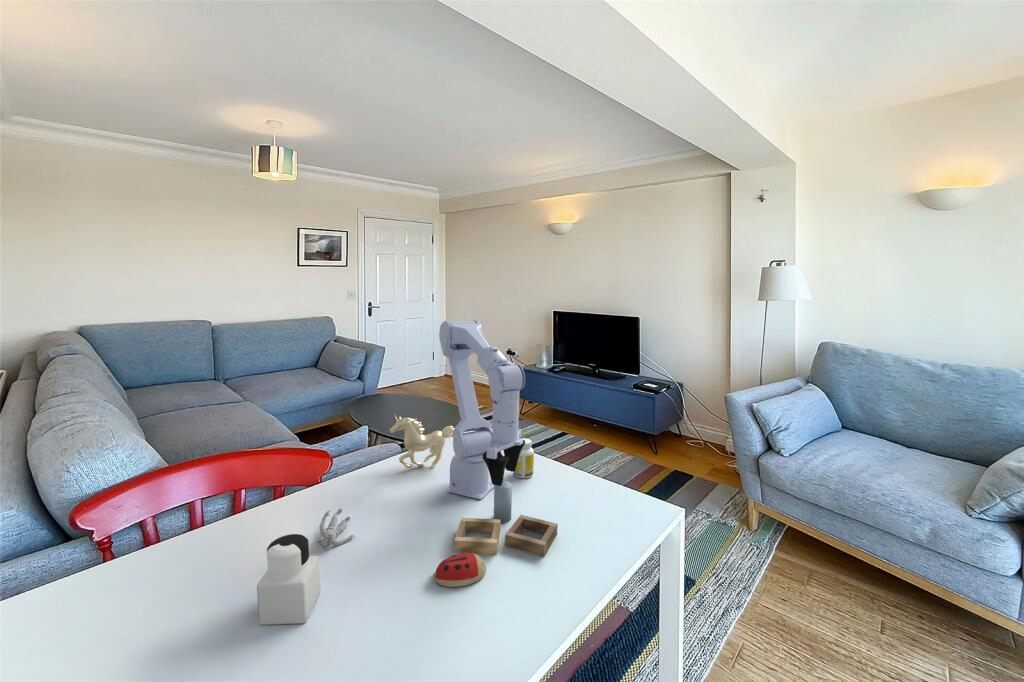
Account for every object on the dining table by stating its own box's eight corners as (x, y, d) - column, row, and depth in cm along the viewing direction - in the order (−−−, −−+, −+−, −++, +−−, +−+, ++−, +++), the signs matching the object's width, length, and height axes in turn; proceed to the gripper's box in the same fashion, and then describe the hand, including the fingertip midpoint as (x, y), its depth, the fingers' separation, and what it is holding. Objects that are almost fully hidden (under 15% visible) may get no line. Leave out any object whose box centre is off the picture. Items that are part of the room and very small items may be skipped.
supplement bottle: (533, 471, 128) (534, 437, 127) (532, 479, 123) (533, 445, 122) (514, 469, 129) (515, 436, 127) (512, 478, 124) (513, 443, 122)
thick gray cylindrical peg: (490, 520, 102) (491, 487, 101) (498, 512, 106) (498, 480, 105) (506, 524, 101) (507, 491, 100) (513, 516, 105) (514, 483, 103)
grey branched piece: (360, 526, 101) (353, 541, 89) (343, 544, 99) (334, 561, 88) (335, 502, 100) (325, 513, 89) (318, 519, 99) (305, 533, 88)
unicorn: (455, 458, 136) (455, 402, 133) (460, 463, 132) (461, 406, 130) (388, 471, 126) (387, 411, 123) (392, 477, 122) (391, 416, 120)
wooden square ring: (504, 545, 93) (505, 534, 93) (520, 525, 101) (520, 514, 101) (544, 556, 90) (544, 545, 90) (557, 534, 98) (557, 523, 97)
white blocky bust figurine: (278, 594, 78) (274, 529, 76) (321, 592, 79) (318, 528, 77) (258, 626, 71) (253, 555, 69) (306, 624, 72) (302, 554, 70)
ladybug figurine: (491, 581, 83) (491, 563, 82) (438, 596, 79) (438, 577, 78) (478, 559, 89) (479, 543, 88) (429, 572, 85) (429, 555, 84)
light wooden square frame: (454, 551, 91) (454, 540, 90) (461, 528, 99) (461, 517, 99) (496, 554, 90) (497, 542, 90) (500, 530, 99) (500, 519, 98)
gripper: (509, 432, 92) (507, 495, 94) (534, 412, 105) (531, 468, 107) (478, 427, 94) (477, 488, 97) (506, 408, 108) (504, 462, 110)
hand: (504, 477), depth 102 cm, fingers open, 7 cm apart
